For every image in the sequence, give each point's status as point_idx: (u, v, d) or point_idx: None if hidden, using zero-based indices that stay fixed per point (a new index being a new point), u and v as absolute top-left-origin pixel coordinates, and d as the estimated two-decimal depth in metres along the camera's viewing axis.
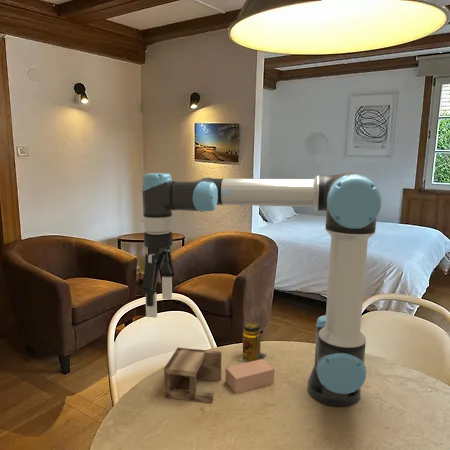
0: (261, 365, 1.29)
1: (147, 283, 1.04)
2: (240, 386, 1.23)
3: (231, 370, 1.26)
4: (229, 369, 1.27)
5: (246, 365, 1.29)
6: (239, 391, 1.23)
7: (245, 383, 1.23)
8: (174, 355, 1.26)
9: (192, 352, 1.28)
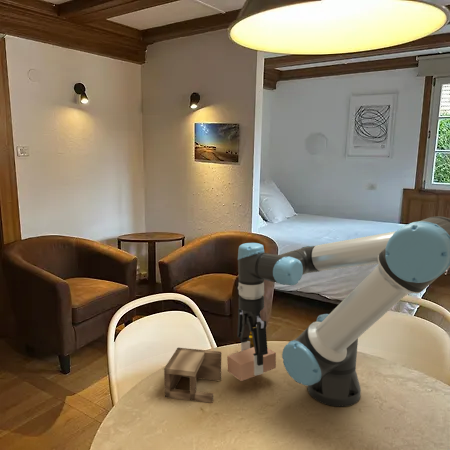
0: None
1: (263, 346, 1.19)
2: (245, 372, 1.21)
3: (234, 357, 1.24)
4: (231, 357, 1.25)
5: (247, 351, 1.28)
6: (244, 377, 1.21)
7: (249, 368, 1.22)
8: (174, 355, 1.26)
9: (192, 352, 1.28)
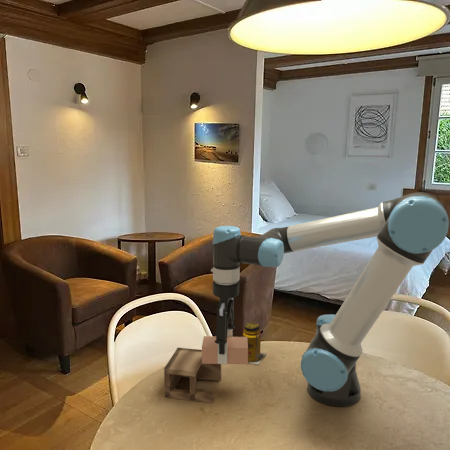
0: (240, 341, 1.21)
1: (220, 335, 1.13)
2: (207, 356, 1.18)
3: (206, 339, 1.22)
4: (205, 338, 1.23)
5: None
6: (205, 360, 1.18)
7: (212, 354, 1.18)
8: (174, 355, 1.26)
9: (192, 352, 1.28)
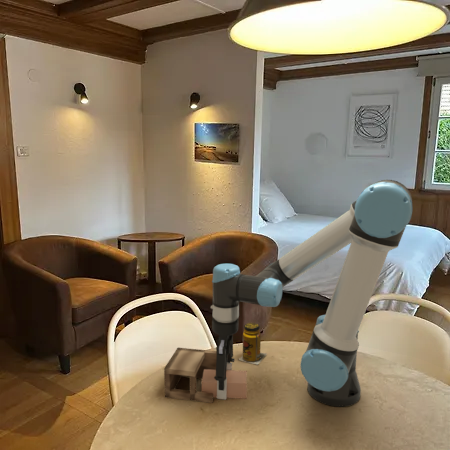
0: (239, 376, 1.23)
1: (220, 372, 1.15)
2: (206, 391, 1.20)
3: (206, 373, 1.24)
4: (205, 371, 1.25)
5: None
6: None
7: (212, 389, 1.20)
8: (174, 355, 1.26)
9: (192, 352, 1.28)
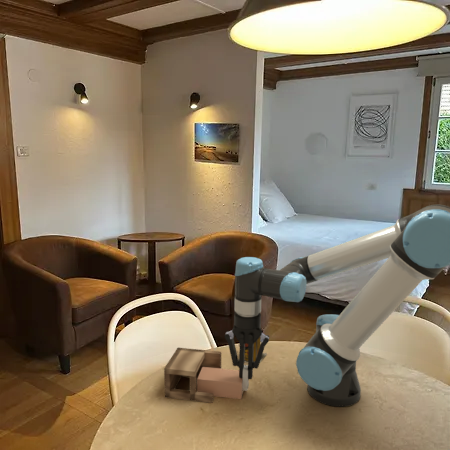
0: (236, 375, 1.23)
1: None
2: (202, 388, 1.21)
3: (203, 370, 1.25)
4: (203, 369, 1.26)
5: (222, 371, 1.25)
6: None
7: (207, 386, 1.21)
8: (174, 355, 1.26)
9: (192, 352, 1.28)
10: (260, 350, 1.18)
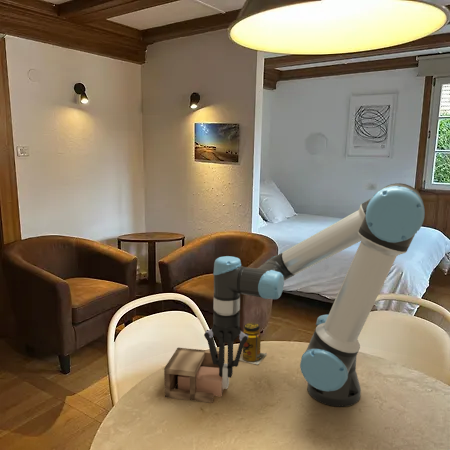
0: (216, 373, 1.24)
1: None
2: (182, 385, 1.23)
3: None
4: None
5: (203, 369, 1.27)
6: (181, 389, 1.23)
7: (188, 384, 1.22)
8: (174, 355, 1.26)
9: (192, 352, 1.28)
10: (239, 348, 1.19)
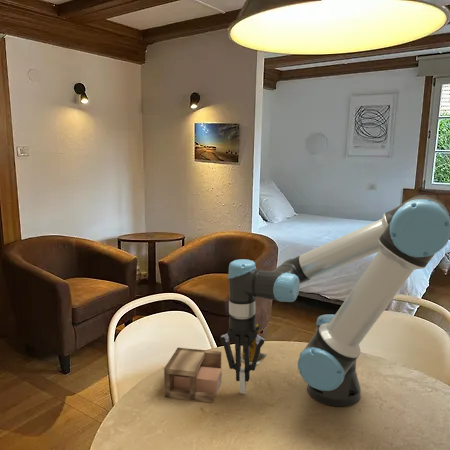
0: (212, 373, 1.24)
1: None
2: (178, 385, 1.23)
3: None
4: None
5: (199, 368, 1.27)
6: None
7: (183, 383, 1.23)
8: (174, 355, 1.26)
9: (192, 352, 1.28)
10: (256, 352, 1.18)
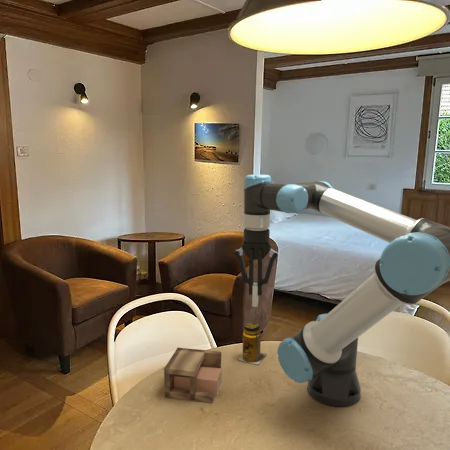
0: (212, 373, 1.24)
1: None
2: (178, 385, 1.23)
3: None
4: None
5: (199, 368, 1.27)
6: None
7: (184, 384, 1.23)
8: (174, 355, 1.26)
9: (192, 352, 1.28)
10: (269, 265, 1.21)
